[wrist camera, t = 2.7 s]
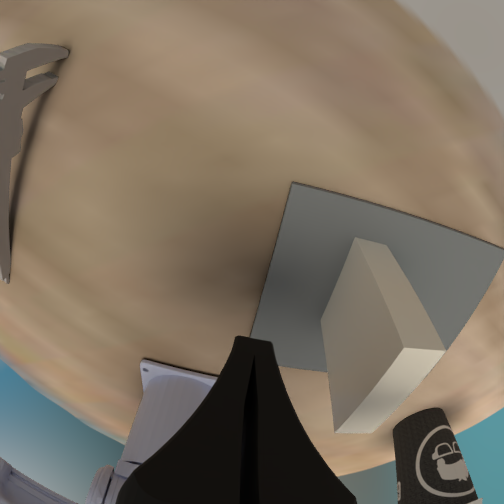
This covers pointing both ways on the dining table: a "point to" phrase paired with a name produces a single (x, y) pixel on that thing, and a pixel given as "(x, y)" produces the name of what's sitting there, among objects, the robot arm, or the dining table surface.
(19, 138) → the caliper
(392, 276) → the tile
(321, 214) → the mat
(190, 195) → the dining table surface
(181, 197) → the dining table surface
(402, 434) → the coffee cup
